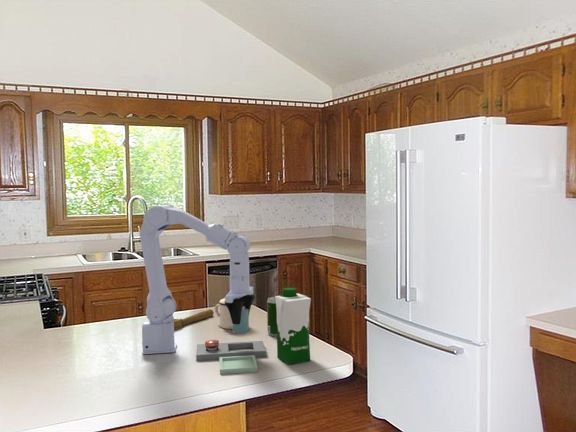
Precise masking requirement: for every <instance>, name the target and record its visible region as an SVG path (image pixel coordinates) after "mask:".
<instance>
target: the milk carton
mask: <svg viewBox="0 0 576 432" xmlns="http://www.w3.org/2000/svg"><path fill="white" fill-rule="evenodd" d="M281 291H282V293H281V294H279V295H275V296H274V297H275V299H276V309H277V336H276V337H277V338H276V346H277V348H276V350H277V356H276V357H277V359H279V360H281V361H282V362H284V363H285V364H287V365H289V366H290V365H294V364H299V363H306V362H311V350H310V349H311V348H310V346H311V345H310V308H311V302H312V298H310V297H308V296H307V295H304V294H301V293H297V288H296V287H294V286H293V287H289V286H288V287H283V288H282V290H281Z"/></svg>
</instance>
